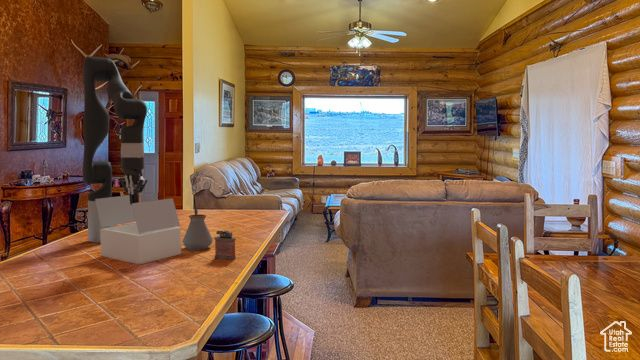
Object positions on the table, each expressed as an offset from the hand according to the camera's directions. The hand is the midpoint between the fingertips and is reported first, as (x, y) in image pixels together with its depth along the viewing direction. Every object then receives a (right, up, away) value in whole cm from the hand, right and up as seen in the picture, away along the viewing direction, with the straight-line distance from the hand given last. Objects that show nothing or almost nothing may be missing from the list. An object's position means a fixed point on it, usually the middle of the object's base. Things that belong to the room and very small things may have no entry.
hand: (134, 204), depth 170 cm
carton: (+1, -19, +5) cm, 20 cm away
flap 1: (-10, -3, +11) cm, 15 cm away
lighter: (+32, -20, +1) cm, 38 cm away
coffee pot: (+17, -18, +22) cm, 33 cm away
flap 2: (+8, -4, -1) cm, 9 cm away
